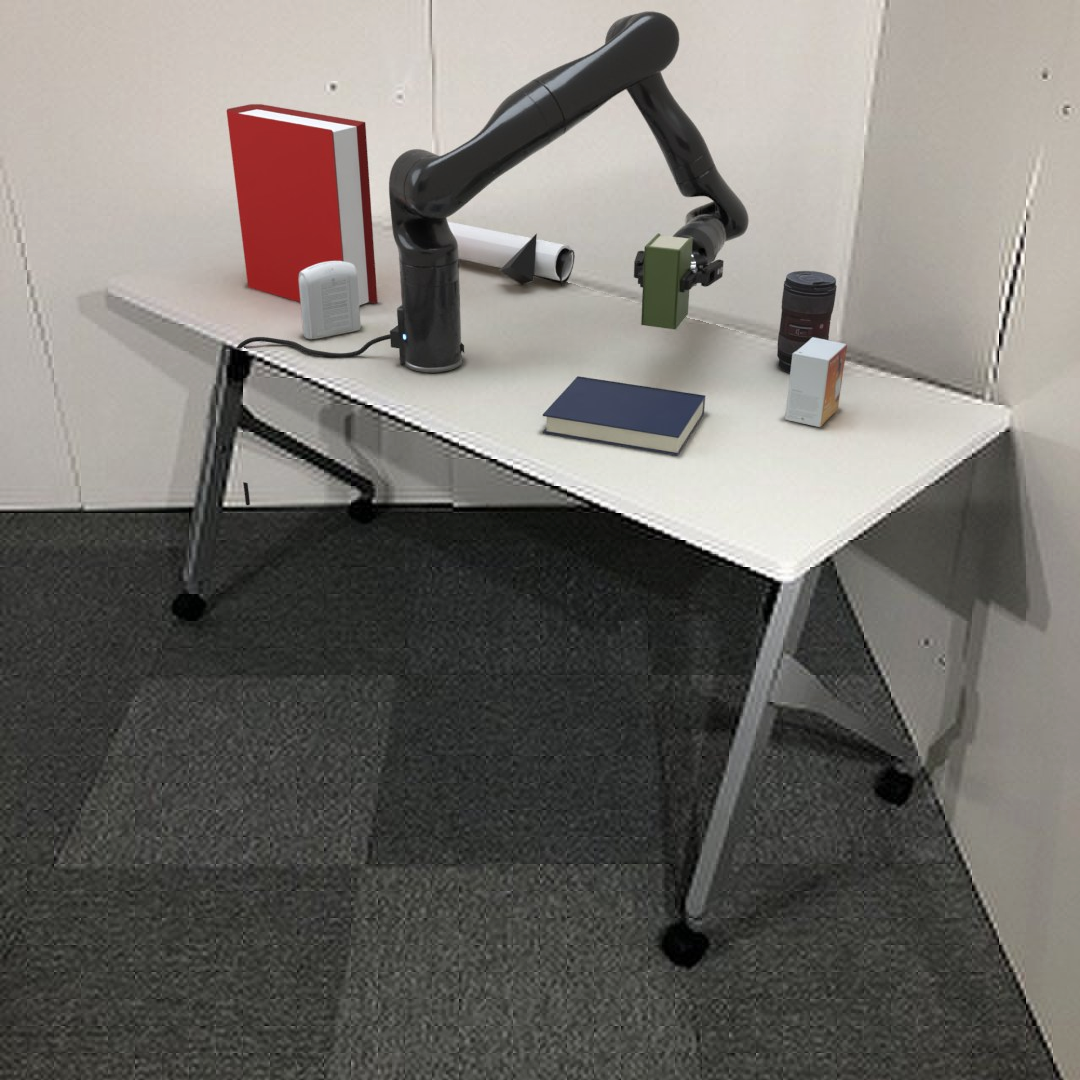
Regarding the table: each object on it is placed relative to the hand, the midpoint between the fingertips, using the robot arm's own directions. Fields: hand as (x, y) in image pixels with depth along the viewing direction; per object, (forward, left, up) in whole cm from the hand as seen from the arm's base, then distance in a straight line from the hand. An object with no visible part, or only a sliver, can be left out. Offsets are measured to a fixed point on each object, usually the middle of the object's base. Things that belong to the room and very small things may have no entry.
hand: (662, 283), depth 177 cm
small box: (+24, 0, -17) cm, 30 cm away
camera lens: (+19, +18, -17) cm, 31 cm away
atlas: (-1, -13, -17) cm, 22 cm away
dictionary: (0, +3, -6) cm, 7 cm away
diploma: (-47, +43, -17) cm, 66 cm away
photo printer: (-59, +4, -17) cm, 62 cm away
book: (-73, +20, -17) cm, 78 cm away
